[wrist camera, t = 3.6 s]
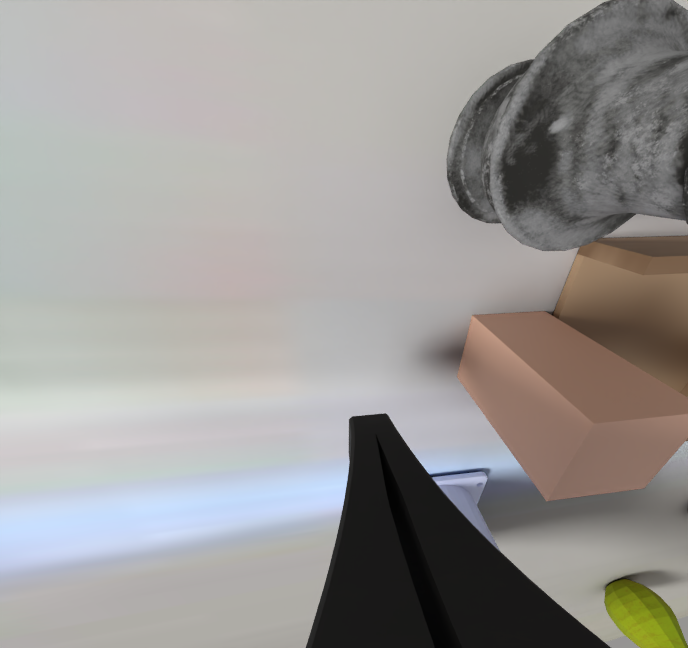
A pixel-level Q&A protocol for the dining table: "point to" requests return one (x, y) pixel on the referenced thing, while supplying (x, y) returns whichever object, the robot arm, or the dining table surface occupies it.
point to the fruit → (643, 615)
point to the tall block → (570, 405)
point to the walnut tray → (633, 302)
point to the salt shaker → (581, 130)
